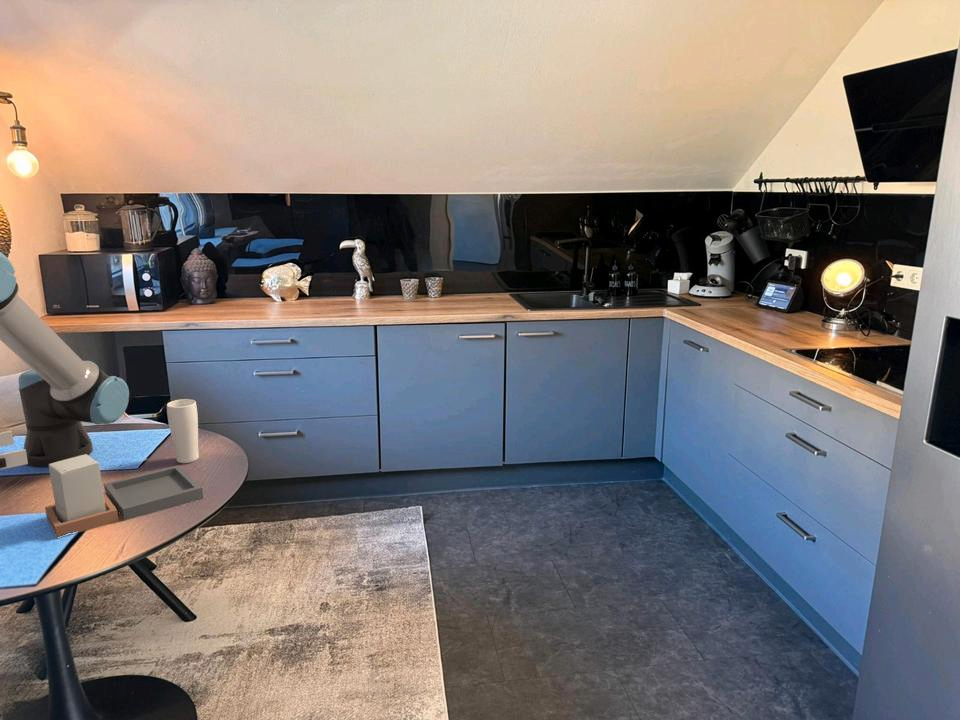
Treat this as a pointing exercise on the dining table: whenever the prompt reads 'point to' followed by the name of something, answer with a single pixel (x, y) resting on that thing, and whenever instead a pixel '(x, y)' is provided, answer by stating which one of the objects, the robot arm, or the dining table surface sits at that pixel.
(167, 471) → the charcoal tray
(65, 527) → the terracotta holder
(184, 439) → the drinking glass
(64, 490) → the supplement box
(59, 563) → the dining table surface
